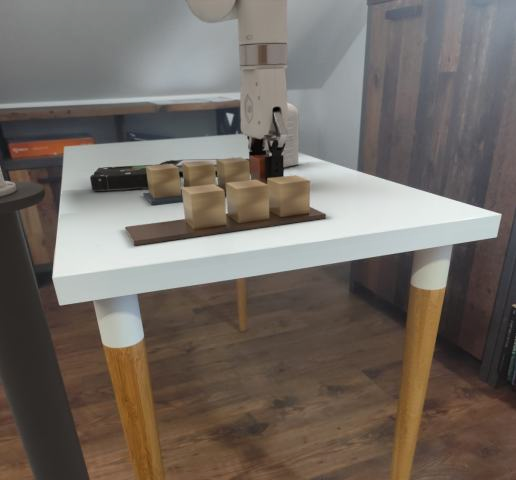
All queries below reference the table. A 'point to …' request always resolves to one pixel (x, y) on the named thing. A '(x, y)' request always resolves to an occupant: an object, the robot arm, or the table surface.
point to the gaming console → (179, 162)
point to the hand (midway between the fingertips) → (266, 176)
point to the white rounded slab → (291, 137)
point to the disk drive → (120, 178)
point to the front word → (233, 209)
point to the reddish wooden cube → (258, 168)
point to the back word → (192, 177)
